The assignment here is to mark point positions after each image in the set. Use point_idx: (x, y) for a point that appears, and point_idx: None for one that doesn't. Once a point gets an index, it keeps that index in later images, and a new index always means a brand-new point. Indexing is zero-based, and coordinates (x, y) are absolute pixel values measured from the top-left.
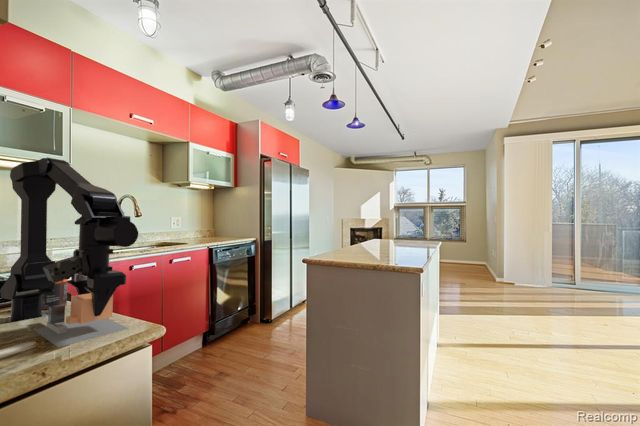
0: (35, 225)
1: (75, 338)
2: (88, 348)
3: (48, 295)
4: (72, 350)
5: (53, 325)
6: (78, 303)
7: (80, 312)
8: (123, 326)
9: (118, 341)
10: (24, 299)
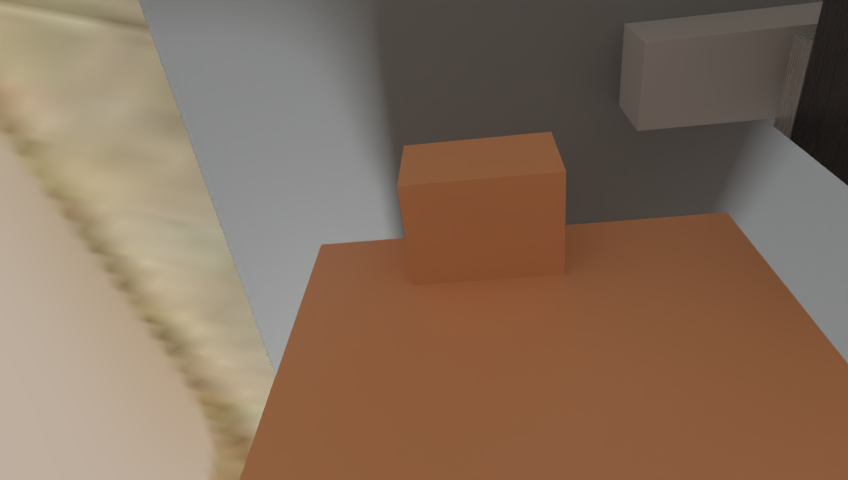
0: None
1: (317, 123)
2: (105, 155)
3: None
4: (126, 43)
5: None
6: (412, 475)
7: (319, 351)
8: None
9: (153, 335)
10: None
